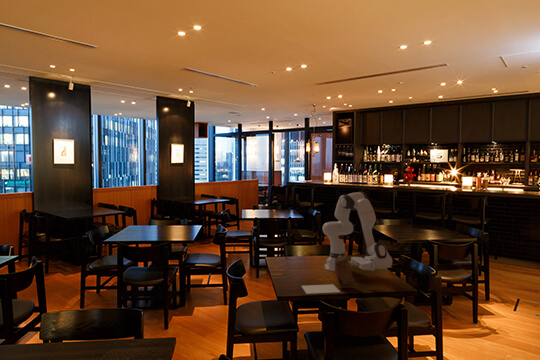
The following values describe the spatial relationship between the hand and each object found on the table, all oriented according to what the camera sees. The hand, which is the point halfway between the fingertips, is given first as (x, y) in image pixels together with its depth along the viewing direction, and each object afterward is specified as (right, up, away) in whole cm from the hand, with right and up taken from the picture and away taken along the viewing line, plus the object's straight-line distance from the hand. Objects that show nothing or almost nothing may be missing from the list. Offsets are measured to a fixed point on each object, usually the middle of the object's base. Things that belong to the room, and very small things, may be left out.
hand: (349, 263), depth 236 cm
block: (-2, -16, 0) cm, 16 cm away
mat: (-20, -17, -2) cm, 26 cm away
